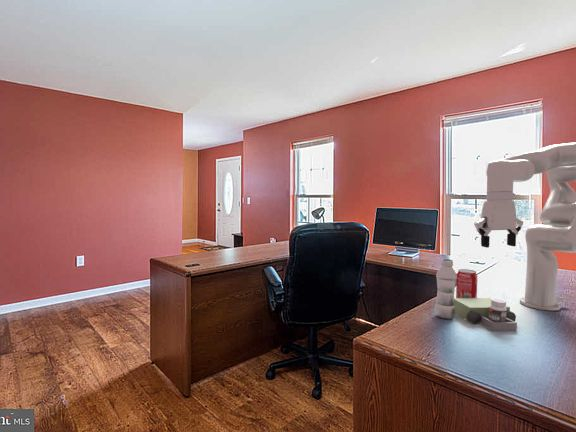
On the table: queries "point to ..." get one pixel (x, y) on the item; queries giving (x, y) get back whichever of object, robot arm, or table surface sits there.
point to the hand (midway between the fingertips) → (498, 246)
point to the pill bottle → (497, 310)
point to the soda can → (466, 284)
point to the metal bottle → (445, 290)
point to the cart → (483, 313)
